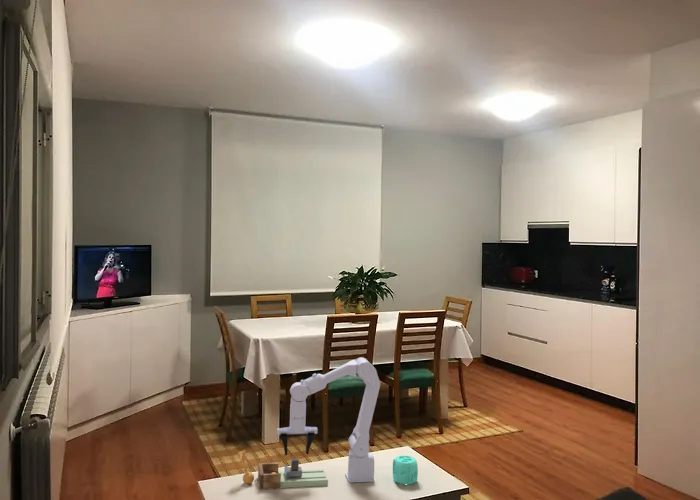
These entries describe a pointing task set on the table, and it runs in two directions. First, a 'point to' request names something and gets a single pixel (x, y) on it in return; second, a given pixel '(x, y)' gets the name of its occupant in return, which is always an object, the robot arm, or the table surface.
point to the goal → (269, 476)
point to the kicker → (293, 469)
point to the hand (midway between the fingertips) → (296, 453)
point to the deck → (305, 479)
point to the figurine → (248, 476)
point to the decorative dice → (405, 470)
